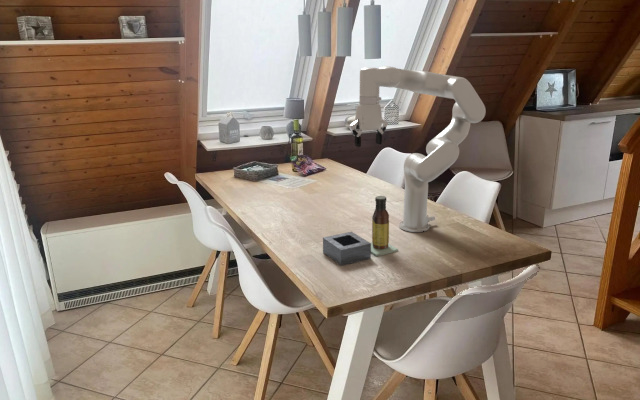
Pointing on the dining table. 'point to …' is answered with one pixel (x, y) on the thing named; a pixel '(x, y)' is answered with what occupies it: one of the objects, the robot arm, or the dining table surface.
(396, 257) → the dining table surface
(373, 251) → the mat
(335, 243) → the collar
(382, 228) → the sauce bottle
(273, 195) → the dining table surface
